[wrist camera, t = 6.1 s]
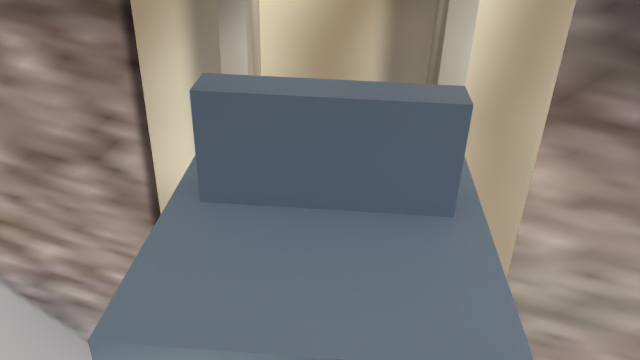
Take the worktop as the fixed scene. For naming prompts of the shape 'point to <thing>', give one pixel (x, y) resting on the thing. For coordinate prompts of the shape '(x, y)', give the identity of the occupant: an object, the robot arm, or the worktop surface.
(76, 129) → the worktop surface
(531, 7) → the chassis pocket
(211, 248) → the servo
